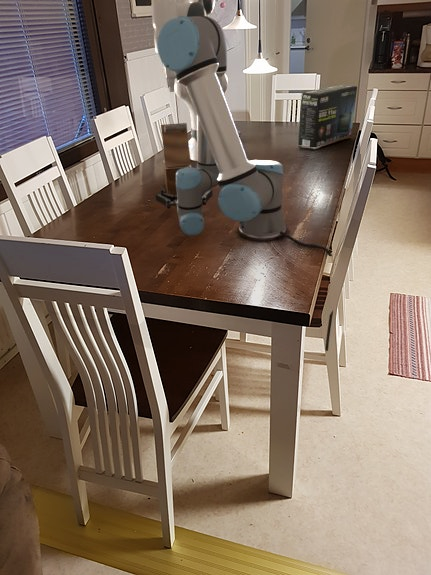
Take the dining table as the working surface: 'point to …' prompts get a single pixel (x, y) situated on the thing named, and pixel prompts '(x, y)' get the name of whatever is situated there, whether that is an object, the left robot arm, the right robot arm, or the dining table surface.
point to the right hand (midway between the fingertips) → (182, 187)
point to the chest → (171, 178)
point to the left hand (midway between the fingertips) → (171, 89)
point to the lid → (175, 145)
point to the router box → (326, 115)
